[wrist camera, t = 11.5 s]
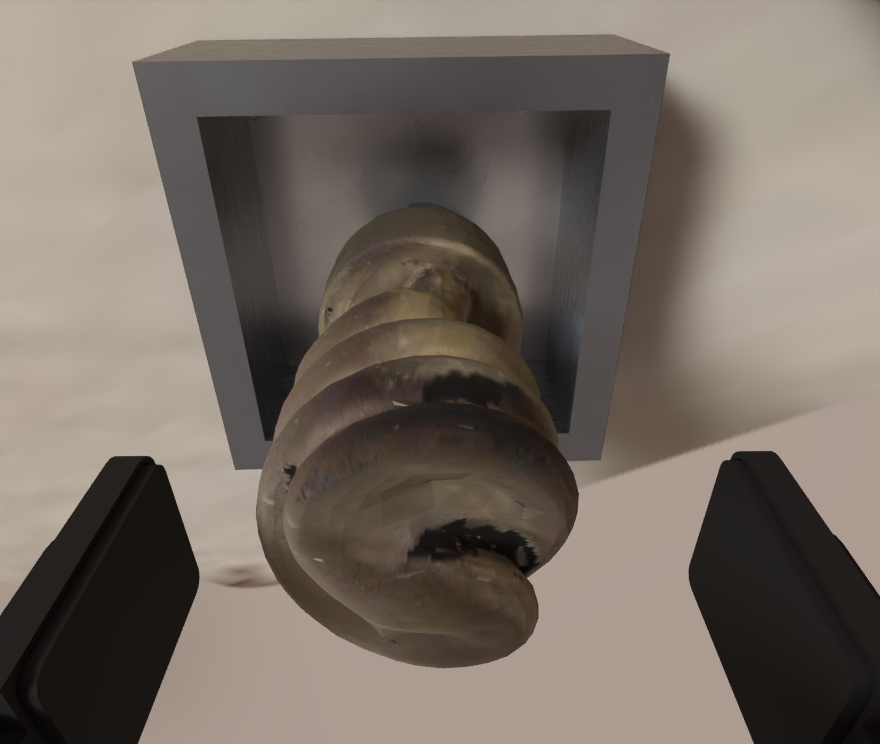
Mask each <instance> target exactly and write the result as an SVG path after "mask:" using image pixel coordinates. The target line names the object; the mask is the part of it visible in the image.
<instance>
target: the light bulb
mask: <svg viewBox="0 0 880 744" xmlns="http://www.w3.org/2000/svg"><path fill="white" fill-rule="evenodd" d="M318 328H319V338H318V339H317V340H316V341H315V343H314V344H313V345H312V346H311V348H310V349H309V350H308V352H307V353H306V354H305V356H304V357H303V359H302V361H301V363H300V365H299V368H298V370H297V373H296V378H295V383H294V387H293V389H292V390H291V392H290V394H289V395H288V397H287V399H286V400H285V402H284V404H283V407H282V410H281V412H280V415H279V418H278V421H277V424H276V427H275V433H274V439H273V444H272V446H271V447H270V450H269V452H268V455H267V458H266V460H265V463H264V465H263V470H262V474H261V478H260V483H259V489H258V498H257V507H256V519H257V526H258V533H259V537H260V541H261V544H262V547H263V551H264V554H265V558H266V559H267V561H268V563H269V565H270V567H271V569H272V571H273V573H274V575H275V577H276V579H277V580H278V582H279V583H280V584H281V586H282V587H283V588H284V590H285V591H286V592H287V593H288V595H289V596H290V597H291V598H292V599H293V600H294V601H295V602H296V603H297V604H298V605H299V607H300V608H301V609H303V610H304V611H305V612H306V613H307V614H309V615H310V616H311V617H312V618H314V619H315V620H316V621H318V622H319V623H321V624H322V625H323V626H324V627H326V628H327V629H329V630H330V631H331V632H333V633H334V634H335V635H337V636H339V637H341V638H343V639H345V640H347V641H349V642H351V643H353V644H355V645H357V646H359V647H361V648H363V649H365V650H368V651H371V652H374V653H376V654H379V655H382V656H384V657H387V658H390V659H393V660H396V661H400V662H404V663H408V664H412V665H417V666H425V667H434V668H454V667H467V666H473V665H479V664H484V663H489V662H492V661H495V660H498V659H500V658H503V657H506V656H508V655H510V654H511V653H512V652H514V651H515V650H517V649H518V648H519V647H521V646H522V645H523V644H525V643H526V641H527V640H528V638H529V637H530V636H531V635H532V634H533V631H534V628H535V625H536V623H537V620H538V602H537V598H536V595H535V592H534V588H533V585H532V584H531V583H530V582H529V580H528V579H527V577H529V576H530V575H531V574H533V573H534V572H536V571H537V570H538V569H539V568H541V567H542V566H543V565H545V564H546V563H547V562H549V561H550V560H551V559H552V557H553V556H554V555H555V554H556V553H557V552H558V551H559V550H560V548H561V547H562V546H563V544H564V543H565V541H566V539H567V538H568V536H569V534H570V532H571V530H572V528H573V526H574V522H575V519H576V516H577V512H578V511H577V510H578V497H579V493H578V489H577V485H576V481H575V477H574V473H573V472H572V470H571V468H570V466H569V465H568V463H567V461H566V459H565V458H564V456H563V455H562V454H561V452H560V451H559V450H558V436H557V433H556V429H555V426H554V423H553V420H552V417H551V415H550V413H549V411H548V410H547V408H546V406H545V405H544V403H543V402H542V401H541V400H540V391H539V388H538V386H537V383H536V381H535V379H534V376H533V374H532V372H531V370H530V368H529V367H528V365H527V363H526V362H525V361H524V360H523V359H522V358H521V357H520V355H519V353H520V347H521V342H522V336H523V312H522V308H521V304H520V300H519V296H518V292H517V288H516V286H515V284H514V282H513V280H512V278H511V276H510V273H509V270H508V267H507V265H506V263H505V261H504V259H503V257H502V255H501V252H500V250H499V248H498V247H497V246H496V244H495V243H494V242H493V241H492V239H491V238H490V237H489V236H488V235H487V234H486V233H485V232H484V231H483V230H482V229H481V228H480V227H479V226H477V225H476V224H474V223H473V222H471V221H469V220H467V219H466V218H464V217H462V216H460V215H459V214H457V213H455V212H453V211H451V210H447V209H445V208H443V207H441V206H438V205H435V204H432V203H421V202H418V203H413V204H411V205H409V206H408V207H407V208H401V209H398V210H394V211H391V212H388V213H385V214H383V215H380V216H378V217H376V218H374V219H373V220H371V221H370V222H368V223H367V224H366V225H364V226H363V227H361V228H360V229H359V230H358V231H357V232H356V233H354V234H353V235H352V236H351V237H350V238H349V240H348V241H347V242H346V244H345V245H344V247H343V248H342V250H341V251H340V253H339V255H338V256H337V258H336V261H335V264H334V267H333V269H332V270H331V273H330V275H329V277H328V279H327V281H326V285H325V290H324V294H323V298H322V305H321V309H320V313H319V326H318Z"/></svg>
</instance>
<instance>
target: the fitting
mask: <svg viewBox="0 0 880 744" xmlns="http://www.w3.org/2000/svg"><path fill="white" fill-rule="evenodd" d="M669 57H670V54H669V53H666V52H663V51H660V50H657V49H654V48H652V47H649V46H646V45H643V44H640V43H637V42H634V41H631V40H628V39H625V38H622V37H619V36H616V35H554V36H485V37H417V38H349V39H280V40H212V41H195V42H192V43H189V44H186V45H183V46H180V47H177V48H174V49H170V50H167V51H164V52H161V53H158V54H155V55H152V56H149V57H146V58H143V59H140V60H137V61H133V62H132V64H133V68H134V72H135V76H136V80H137V83H138V87H139V91H140V95H141V99H142V103H143V107H144V111H145V115H146V119H147V123H148V127H149V131H150V135H151V139H152V143H153V147H154V151H155V155H156V159H157V163H158V166H159V170H160V174H161V178H162V182H163V186H164V190H165V194H166V198H167V202H168V206H169V210H170V214H171V218H172V222H173V226H174V230H175V234H176V238H177V242H178V246H179V250H180V253H181V257H182V261H183V265H184V269H185V273H186V277H187V281H188V285H189V289H190V293H191V297H192V301H193V305H194V309H195V313H196V317H197V321H198V325H199V329H200V333H201V337H202V340H203V344H204V348H205V352H206V356H207V360H208V364H209V368H210V372H211V376H212V380H213V384H214V388H215V392H216V396H217V400H218V404H219V408H220V412H221V416H222V420H223V424H224V427H225V431H226V435H227V439H228V443H229V447H230V451H231V455H232V459H233V463H234V467H235V470H241V469H263V465H264V463H265V460H266V458H267V455H268V452H269V450H270V447H271V446H272V444H273V439H274V433H275V427H276V424H277V421H278V418H279V415H280V412H281V410H282V407H283V404H284V402H285V400H286V399H287V397H288V395H289V394H290V392H291V390H292V389H293V387H294V383H295V378H296V373H297V370H298V368H299V365H300V363H301V361H302V359H303V357H304V356H305V354H306V353H307V352H308V350H309V349H310V348H311V346H312V345H313V344H314V343H315V341H316V340H317V339H318V338H319V328H318V326H319V313H320V309H321V305H322V298H323V294H324V290H325V285H326V281H327V279H328V277H329V275H330V273H331V270H332V269H333V267H334V264H335V261H336V258H337V256H338V255H339V253H340V251H341V250H342V248H343V247H344V245H345V244H346V242H347V241H348V240H349V238H350V237H351V236H352V235H353V234H354V233H356V232H357V231H358V230H359V229H360V228H361V227H363V226H364V225H366V224H367V223H368V222H370V221H371V220H373V219H374V218H376V217H378V216H380V215H383V214H385V213H388V212H391V211H394V210H398V209H401V208H407V207H408V206H409V205H411V204H413V203H418V202H421V203H432V204H435V205H438V206H441V207H443V208H445V209H447V210H451V211H453V212H455V213H457V214H459V215H460V216H462V217H464V218H466V219H467V220H469V221H471V222H473V223H474V224H476V225H477V226H479V227H480V228H481V229H482V230H483V231H484V232H485V233H486V234H487V235H488V236H489V237H490V238H491V239H492V241H493V242H494V243H495V244H496V246H497V247H498V248H499V250H500V252H501V255H502V257H503V259H504V261H505V263H506V265H507V267H508V270H509V273H510V276H511V278H512V280H513V282H514V284H515V286H516V288H517V292H518V296H519V300H520V304H521V308H522V312H523V336H522V342H521V347H520V353H519V355H520V357H521V358H522V359H523V360H524V361H525V362H526V363H527V365H528V367H529V368H530V370H531V372H532V374H533V376H534V379H535V381H536V383H537V386H538V388H539V391H540V400H541V401H542V402H543V403H544V405H545V406H546V408H547V410H548V411H549V413H550V415H551V417H552V420H553V423H554V426H555V429H556V433H557V436H558V450H559V451H560V452H561V454H562V455H563V456H564V458H565V459H566V461H582V460H601V454H602V449H603V443H604V437H605V431H606V425H607V419H608V413H609V408H610V402H611V396H612V390H613V384H614V378H615V372H616V367H617V361H618V355H619V349H620V343H621V337H622V332H623V326H624V320H625V314H626V308H627V302H628V296H629V291H630V285H631V279H632V273H633V267H634V261H635V256H636V250H637V244H638V238H639V232H640V226H641V220H642V215H643V209H644V203H645V197H646V191H647V185H648V179H649V174H650V168H651V162H652V156H653V150H654V144H655V139H656V133H657V127H658V121H659V115H660V109H661V103H662V98H663V92H664V86H665V80H666V74H667V68H668V63H669Z"/></svg>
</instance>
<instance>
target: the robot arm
mask: <svg viewBox="0 0 880 744" xmlns="http://www.w3.org/2000/svg"><path fill="white" fill-rule="evenodd" d="M689 581H690V586H691V589H692V592H693V594H694V596H695V599H696V601H697V604H698V606H699V609H700V611H701V614H702V616H703V619H704V621H705V624H706V626H707V629H708V631H709V633H710V636H711V638H712V641H713V643H714V646H715V648H716V651H717V653H718V656H719V658H720V661H721V663H722V666H723V668H724V671H725V673H726V675H727V678H728V680H729V683H730V686H731V688H732V690H733V693H734V695H735V698H736V700H737V703H738V705H739V708H740V710H741V713H742V715H743V718H744V720H745V723H746V725H747V727H748V730H749V732H750V735H751V738H752V740H753V742H754V744H880V596H879V594H878V593H877V592H876V590H875V589H874V587H873V586H872V584H871V583H870V582H869V580H868V579H867V577H866V576H865V574H864V573H863V571H862V570H861V569H860V567H859V566H858V564H857V563H856V561H855V560H854V559H853V557H852V556H851V554H850V553H849V551H848V550H847V549H846V547H845V546H844V544H843V543H842V542H841V541H840V540H839V539H838V538H837V536H835V535H834V534H832V532H831V531H830V530H829V528H828V527H827V525H826V524H825V522H824V521H823V519H822V518H821V516H820V515H819V514H818V512H817V511H816V509H815V508H814V506H813V505H812V503H811V502H810V500H809V499H808V498H807V496H806V495H805V493H804V492H803V490H802V489H801V488H800V486H799V485H798V483H797V482H796V480H795V479H794V477H793V476H792V474H791V473H790V472H789V470H788V469H787V467H786V466H785V464H784V463H783V461H782V460H781V459H780V457H779V456H778V455H777V454H776V453H774V452H772V451H742V452H741V451H739V452H735V453H734V454H733V455H732V457H731V459H730V460H726V461H723V462H722V464H721V466H720V469H719V472H718V475H717V479H716V482H715V485H714V488H713V491H712V495H711V498H710V501H709V505H708V508H707V511H706V514H705V517H704V521H703V524H702V527H701V530H700V533H699V536H698V540H697V543H696V546H695V549H694V552H693V556H692V559H691V562H690V566H689ZM198 586H199V569H198V566H197V563H196V560H195V557H194V554H193V551H192V548H191V545H190V542H189V539H188V536H187V533H186V530H185V527H184V524H183V521H182V518H181V515H180V512H179V509H178V506H177V503H176V500H175V497H174V494H173V491H172V488H171V485H170V482H169V479H168V476H167V473H166V471H165V468H164V467H163V466H162V465H156V464H155V462H154V460H153V459H152V458H151V457H149V456H115V457H112V458H110V459H109V461H108V462H107V463H106V464H105V466H104V467H103V469H102V470H101V472H100V473H99V475H98V476H97V478H96V479H95V481H94V482H93V484H92V485H91V487H90V488H89V490H88V491H87V492H86V494H85V495H84V497H83V498H82V500H81V501H80V503H79V504H78V506H77V507H76V509H75V510H74V512H73V513H72V515H71V516H70V518H69V519H68V521H67V522H66V524H65V525H64V527H63V528H62V530H61V531H60V533H59V534H58V536H57V537H56V538H55V540H54V541H52V542H51V543H50V545H49V546H48V547H47V548H46V549H45V551H44V552H43V553H42V555H41V556H40V558H39V559H38V561H37V562H36V564H35V565H34V567H33V568H32V570H31V571H30V573H29V574H28V576H27V577H26V579H25V580H24V581H23V583H22V584H21V586H20V587H19V589H18V591H17V592H16V593H15V595H14V596H13V598H12V599H11V601H10V602H9V604H8V605H7V607H6V608H5V609H4V611H3V612H2V614H1V615H0V744H138V742H139V739H140V737H141V734H142V732H143V729H144V726H145V724H146V721H147V719H148V716H149V713H150V711H151V708H152V706H153V703H154V701H155V698H156V696H157V693H158V690H159V688H160V685H161V683H162V680H163V678H164V675H165V672H166V670H167V667H168V665H169V662H170V660H171V657H172V655H173V652H174V649H175V647H176V644H177V641H178V639H179V637H180V634H181V631H182V628H183V626H184V624H185V621H186V618H187V616H188V614H189V611H190V608H191V606H192V603H193V601H194V598H195V596H196V593H197V590H198Z"/></svg>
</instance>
